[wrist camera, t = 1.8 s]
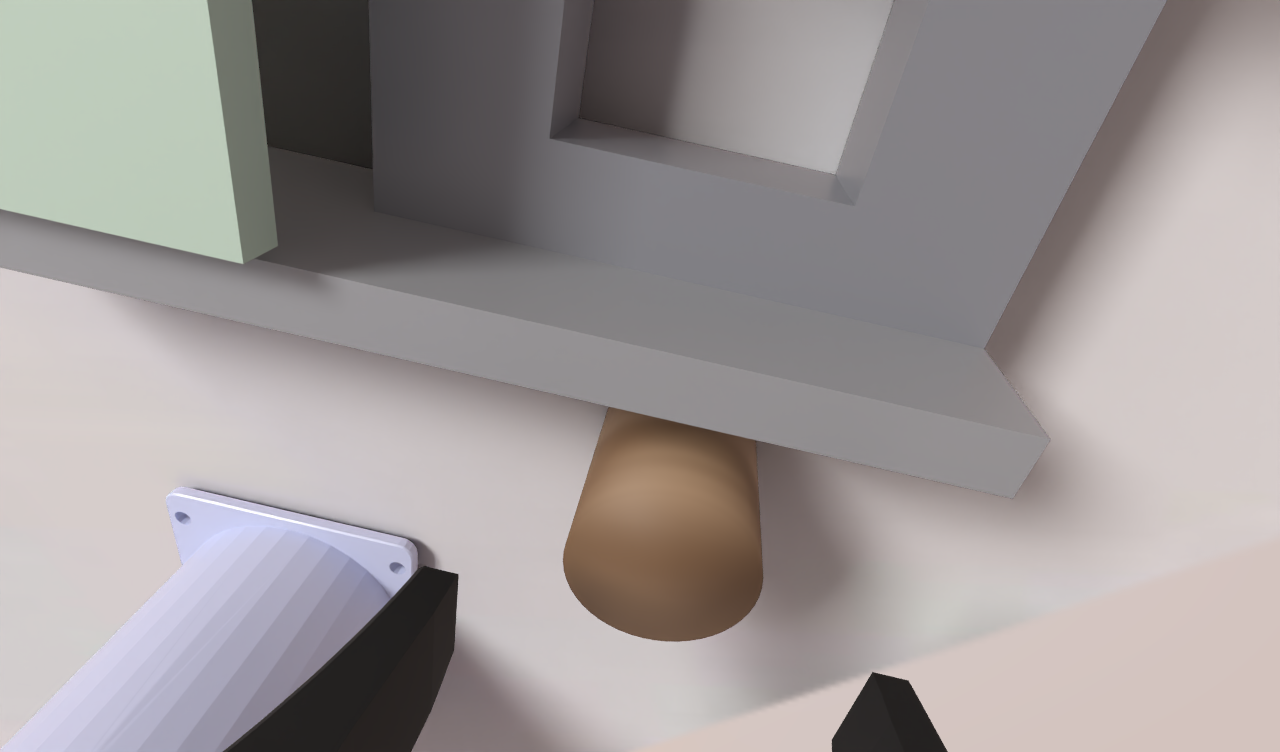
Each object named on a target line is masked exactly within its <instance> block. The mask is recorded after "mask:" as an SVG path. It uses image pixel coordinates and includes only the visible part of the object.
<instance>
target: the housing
mask: <svg viewBox="0 0 1280 752" xmlns="http://www.w3.org/2000/svg"><path fill="white" fill-rule="evenodd" d="M1166 1H1167V0H894V3H893V6H892V9H891V12H890V15H889V18H888V20H887V23H886V26H885V29H884V32H883V35H882V38H881V41H880V44H879V47H878V50H877V53H876V56H875V59H874V62H873V65H872V68H871V71H870V74H869V77H868V80H867V83H866V86H865V89H864V92H863V95H862V98H861V101H860V104H859V107H858V110H857V113H856V116H855V118H854V121H853V124H852V127H851V130H850V133H849V136H848V139H847V142H846V145H845V148H844V151H843V154H842V157H841V160H840V163H839V166H838V169H837V172H836V175H834V174H830V173H825V172H821V171H816V170H811V169H807V168H802V167H798V166H793V165H789V164H784V163H780V162H775V161H771V160H766V159H762V158H757V157H753V156H748V155H744V154H739V153H735V152H730V151H726V150H721V149H717V148H712V147H708V146H703V145H699V144H694V143H690V142H685V141H681V140H676V139H671V138H667V137H662V136H658V135H653V134H649V133H644V132H640V131H635V130H631V129H626V128H622V127H617V126H613V125H608V124H604V123H599V122H595V121H590V120H586V119H581V118H579V113H580V105H581V97H582V89H583V82H584V74H585V66H586V59H587V51H588V43H589V35H590V28H591V20H592V12H593V5H594V0H369V36H370V75H371V113H372V152H373V169H369V168H364V167H360V166H355V165H351V164H347V163H342V162H338V161H333V160H329V159H324V158H320V157H315V156H311V155H306V154H302V153H297V152H293V151H288V150H284V149H280V148H275V147H271V146H267V147H268V157H269V166H270V175H271V185H272V194H273V204H274V213H275V222H276V232H277V241H278V246H277V247H275V248H273V249H271V250H269V251H267V252H266V253H264V254H262V255H260V256H258V257H256V258H254V259H252V260H250V261H248V262H246V263H244V264H241V263H236V262H232V261H227V260H223V259H219V258H214V257H210V256H205V255H201V254H197V253H192V252H188V251H183V250H179V249H175V248H170V247H166V246H161V245H157V244H153V243H148V242H144V241H139V240H135V239H130V238H126V237H122V236H117V235H113V234H108V233H104V232H100V231H95V230H91V229H86V228H82V227H78V226H73V225H69V224H64V223H60V222H56V221H51V220H47V219H42V218H38V217H34V216H29V215H25V214H20V213H16V212H12V211H7V210H3V209H0V267H1V268H5V269H9V270H14V271H18V272H22V273H27V274H31V275H36V276H40V277H44V278H49V279H53V280H57V281H62V282H66V283H71V284H75V285H79V286H84V287H88V288H92V289H97V290H101V291H106V292H110V293H114V294H119V295H123V296H127V297H132V298H136V299H141V300H145V301H149V302H154V303H158V304H162V305H167V306H171V307H176V308H180V309H184V310H189V311H193V312H197V313H202V314H206V315H211V316H215V317H219V318H224V319H228V320H232V321H237V322H241V323H246V324H250V325H254V326H259V327H263V328H267V329H272V330H276V331H281V332H285V333H289V334H294V335H298V336H302V337H307V338H311V339H316V340H320V341H324V342H329V343H333V344H337V345H342V346H346V347H350V348H355V349H359V350H364V351H368V352H372V353H377V354H381V355H385V356H390V357H394V358H399V359H403V360H407V361H412V362H416V363H420V364H425V365H429V366H434V367H438V368H442V369H447V370H451V371H455V372H460V373H464V374H469V375H473V376H477V377H482V378H486V379H490V380H495V381H499V382H504V383H508V384H512V385H517V386H521V387H525V388H530V389H534V390H539V391H543V392H547V393H552V394H556V395H560V396H565V397H569V398H574V399H578V400H582V401H587V402H591V403H595V404H600V405H604V406H609V407H613V408H617V409H622V410H626V411H630V412H635V413H639V414H644V415H648V416H652V417H657V418H661V419H665V420H670V421H674V422H679V423H683V424H687V425H692V426H696V427H700V428H705V429H709V430H714V431H718V432H722V433H727V434H731V435H735V436H740V437H744V438H748V439H753V440H757V441H762V442H766V443H770V444H775V445H779V446H783V447H788V448H792V449H797V450H801V451H805V452H810V453H814V454H818V455H823V456H827V457H832V458H836V459H840V460H845V461H849V462H853V463H858V464H862V465H867V466H871V467H875V468H880V469H884V470H888V471H893V472H897V473H902V474H906V475H910V476H915V477H919V478H923V479H928V480H932V481H937V482H941V483H945V484H950V485H954V486H958V487H963V488H967V489H972V490H976V491H980V492H985V493H989V494H993V495H998V496H1002V497H1007V498H1011V499H1013V498H1014V496H1015V495H1016V493H1017V491H1018V490H1019V488H1020V487H1021V485H1022V484H1023V482H1024V480H1025V479H1026V477H1027V476H1028V474H1029V473H1030V471H1031V470H1032V468H1033V466H1034V465H1035V463H1036V462H1037V460H1038V459H1039V457H1040V455H1041V454H1042V452H1043V451H1044V449H1045V448H1046V446H1047V444H1048V443H1049V441H1050V440H1051V439H1050V438H1049V436H1048V435H1047V434H1046V432H1045V431H1044V430H1043V428H1042V427H1041V425H1040V424H1039V423H1038V421H1037V420H1036V419H1035V417H1034V416H1033V415H1032V413H1031V412H1030V410H1029V409H1028V408H1027V406H1026V405H1025V404H1024V402H1023V401H1022V400H1021V398H1020V397H1019V395H1018V394H1017V393H1016V391H1015V390H1014V389H1013V387H1012V386H1011V385H1010V383H1009V382H1008V380H1007V379H1006V378H1005V376H1004V375H1003V374H1002V372H1001V371H1000V370H999V368H998V367H997V365H996V364H995V363H994V361H993V360H992V359H991V357H990V356H989V355H988V353H987V352H986V350H985V349H984V348H985V346H986V344H987V342H988V341H989V339H990V337H991V335H992V333H993V331H994V329H995V327H996V325H997V323H998V322H999V320H1000V318H1001V316H1002V314H1003V312H1004V310H1005V308H1006V306H1007V304H1008V302H1009V301H1010V299H1011V297H1012V295H1013V293H1014V291H1015V289H1016V287H1017V285H1018V283H1019V281H1020V280H1021V278H1022V276H1023V274H1024V272H1025V270H1026V268H1027V266H1028V264H1029V262H1030V261H1031V259H1032V257H1033V255H1034V253H1035V251H1036V249H1037V247H1038V245H1039V243H1040V241H1041V240H1042V238H1043V236H1044V234H1045V232H1046V230H1047V228H1048V226H1049V224H1050V222H1051V221H1052V219H1053V217H1054V215H1055V213H1056V211H1057V209H1058V207H1059V205H1060V203H1061V201H1062V200H1063V198H1064V196H1065V194H1066V192H1067V190H1068V188H1069V186H1070V184H1071V182H1072V181H1073V179H1074V177H1075V175H1076V173H1077V171H1078V169H1079V167H1080V165H1081V163H1082V161H1083V160H1084V158H1085V156H1086V154H1087V152H1088V150H1089V148H1090V146H1091V144H1092V142H1093V140H1094V139H1095V137H1096V135H1097V133H1098V131H1099V129H1100V127H1101V125H1102V123H1103V121H1104V120H1105V118H1106V116H1107V114H1108V112H1109V110H1110V108H1111V106H1112V104H1113V102H1114V100H1115V99H1116V97H1117V95H1118V93H1119V91H1120V89H1121V87H1122V85H1123V83H1124V81H1125V80H1126V78H1127V76H1128V74H1129V72H1130V70H1131V68H1132V66H1133V64H1134V62H1135V60H1136V59H1137V57H1138V55H1139V53H1140V51H1141V49H1142V47H1143V45H1144V43H1145V41H1146V40H1147V38H1148V36H1149V34H1150V32H1151V30H1152V28H1153V26H1154V24H1155V22H1156V20H1157V19H1158V17H1159V15H1160V13H1161V11H1162V9H1163V7H1164V5H1165V3H1166Z"/></svg>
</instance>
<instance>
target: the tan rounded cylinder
mask: <svg viewBox="0 0 1280 752" xmlns="http://www.w3.org/2000/svg"><path fill="white" fill-rule="evenodd" d="M563 566H564V572H565V576H566V579H567V582H568V584H569V586H570V588H571V590H572V592H573V593H574V595H575V596H576V598H577V599H578V600H579V601H580V602H581V604H582V605H583V606H584V607H585V608H586V609H587V610H588V611H589V612H591V613H592V614H593V615H595V616H596V617H597V618H598V619H600V620H602V621H603V622H605V623H606V624H608V625H610V626H612V627H614V628H616V629H618V630H620V631H623V632H626V633H628V634H631V635H634V636H638V637H642V638H646V639H652V640H659V641H690V640H696V639H702V638H706V637H709V636H713V635H715V634H718V633H720V632H723V631H725V630H727V629H729V628H731V627H732V626H734V625H735V624H737V623H738V622H739V621H741V620H742V619H743V618H744V617H745V616H746V615H747V614H748V613H749V612H750V611H751V609H752V608H753V607H754V606H755V604H756V602H757V600H758V598H759V596H760V592H761V589H762V583H763V566H762V547H761V528H760V509H759V490H758V471H757V452H756V440H753V439H748V438H744V437H740V436H735V435H731V434H727V433H722V432H718V431H714V430H709V429H705V428H700V427H696V426H692V425H687V424H683V423H679V422H674V421H670V420H665V419H661V418H657V417H652V416H648V415H644V414H639V413H635V412H630V411H626V410H622V409H617V408H613V407H608V411H607V414H606V417H605V420H604V423H603V427H602V430H601V433H600V436H599V439H598V443H597V446H596V449H595V452H594V455H593V458H592V462H591V465H590V468H589V471H588V474H587V478H586V481H585V484H584V487H583V490H582V494H581V497H580V500H579V503H578V506H577V510H576V513H575V516H574V519H573V522H572V526H571V529H570V532H569V535H568V538H567V542H566V545H565V549H564V555H563Z"/></svg>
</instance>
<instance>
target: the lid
mask: <svg viewBox="0 0 1280 752" xmlns="http://www.w3.org/2000/svg"><path fill="white" fill-rule="evenodd" d="M0 209H3V210H7V211H12V212H16V213H20V214H25V215H29V216H34V217H38V218H42V219H47V220H51V221H56V222H60V223H64V224H69V225H73V226H78V227H82V228H86V229H91V230H95V231H100V232H104V233H108V234H113V235H117V236H122V237H126V238H130V239H135V240H139V241H144V242H148V243H153V244H157V245H161V246H166V247H170V248H175V249H179V250H183V251H188V252H192V253H197V254H201V255H205V256H210V257H214V258H219V259H223V260H227V261H232V262H236V263H241V264H244V263H246V262H248V261H250V260H252V259H254V258H256V257H258V256H260V255H262V254H264V253H266V252H267V251H269V250H271V249H273V248H275V247H277V246H278V241H277V232H276V222H275V213H274V204H273V194H272V185H271V175H270V166H269V157H268V147H267V138H266V128H265V119H264V110H263V100H262V91H261V81H260V72H259V63H258V53H257V44H256V34H255V25H254V16H253V6H252V0H0Z"/></svg>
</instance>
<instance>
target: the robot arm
mask: <svg viewBox="0 0 1280 752" xmlns="http://www.w3.org/2000/svg"><path fill="white" fill-rule="evenodd" d="M166 504H167V508H168V512H169V516H170V520H171V524H172V527H173V531H174V535H175V539H176V543H177V547H178V551H179V555H180V559H181V563H182V566H181V567H180V568H179V569H178V570H177V571H176V572H175V573H174V574H173V575H172V577H171V578H170V579H169V580H168V581H167V582H166V583H165V584H164V585H163V586H162V587H161V588H160V589H159V590H158V591H157V592H156V593H155V594H154V595H153V596H152V597H151V598H150V599H149V600H148V601H147V602H146V603H145V604H144V605H143V606H142V607H141V608H140V609H139V610H138V611H137V612H136V613H135V614H134V615H133V616H132V617H131V618H130V619H129V620H128V621H127V622H126V623H125V624H124V625H123V626H122V627H121V628H120V629H119V630H118V631H117V632H116V633H115V634H114V635H113V636H112V637H111V638H110V639H109V640H108V641H107V642H106V643H105V644H104V645H103V646H102V647H101V648H100V649H99V650H98V651H97V652H96V653H95V654H94V655H93V656H92V657H91V658H90V659H89V660H88V661H87V662H86V663H85V664H84V665H83V666H82V667H81V668H80V669H79V670H78V671H77V672H76V673H75V674H74V675H73V676H72V677H71V678H70V679H69V680H68V681H67V683H66V684H65V685H64V686H63V687H62V688H61V689H60V690H59V691H58V692H57V693H56V694H55V695H54V696H53V697H52V698H51V699H50V700H49V701H48V702H47V703H46V704H45V705H44V706H43V707H42V708H41V709H40V710H39V711H38V712H37V713H36V714H35V715H34V716H33V717H32V718H31V719H30V720H29V721H28V722H27V723H26V724H25V725H24V726H23V727H22V728H21V729H20V730H19V731H18V732H17V733H16V734H15V735H14V736H13V737H12V738H11V739H10V740H9V741H8V742H7V743H6V744H5V745H4V746H3V747H2V748H1V749H0V752H411V751H412V749H413V747H414V745H415V742H416V740H417V738H418V736H419V734H420V732H421V730H422V728H423V726H424V724H425V722H426V720H427V718H428V716H429V714H430V712H431V710H432V707H433V704H434V702H435V699H436V697H437V694H438V691H439V689H440V686H441V684H442V681H443V678H444V676H445V673H446V670H447V667H448V665H449V662H450V659H451V657H452V654H453V651H454V642H455V625H456V608H457V591H458V574H455V573H451V572H447V571H442V570H438V569H434V568H430V567H426V566H423V567H421V568H419V569H417V568H418V552H417V548H416V547H415V545H414V544H413V543H412V542H411V541H409V540H408V539H405V538H402V537H398V536H393V535H389V534H385V533H380V532H376V531H372V530H368V529H363V528H359V527H355V526H350V525H346V524H342V523H338V522H333V521H329V520H325V519H320V518H316V517H312V516H308V515H303V514H299V513H295V512H290V511H286V510H282V509H278V508H273V507H269V506H265V505H260V504H256V503H252V502H247V501H243V500H239V499H235V498H230V497H226V496H222V495H217V494H213V493H209V492H205V491H200V490H196V489H192V488H187V487H178V488H175V489H174V490H173V491H172V492H171V493H170V494H168V496H167V497H166ZM832 752H947V750H946V748H945V746H944V744H943V743H942V741H941V739H940V737H939V735H938V734H937V732H936V730H935V728H934V726H933V724H932V722H931V721H930V719H929V717H928V715H927V713H926V711H925V710H924V708H923V706H922V704H921V702H920V701H919V699H918V697H917V695H916V694H915V691H914V690H913V688H912V686H911V684H910V683H909V681H907V680H903V679H899V678H895V677H891V676H886V675H882V674H878V673H874V672H872V674H871V676H870V677H869V679H868V681H867V682H866V684H865V686H864V687H863V689H862V691H861V692H860V694H859V696H858V697H857V699H856V701H855V702H854V704H853V706H852V708H851V709H850V711H849V712H848V714H847V716H846V717H845V719H844V721H843V722H842V724H841V726H840V727H839V729H838V731H837V732H836V734H835V735H834V737H833V739H832Z"/></svg>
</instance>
